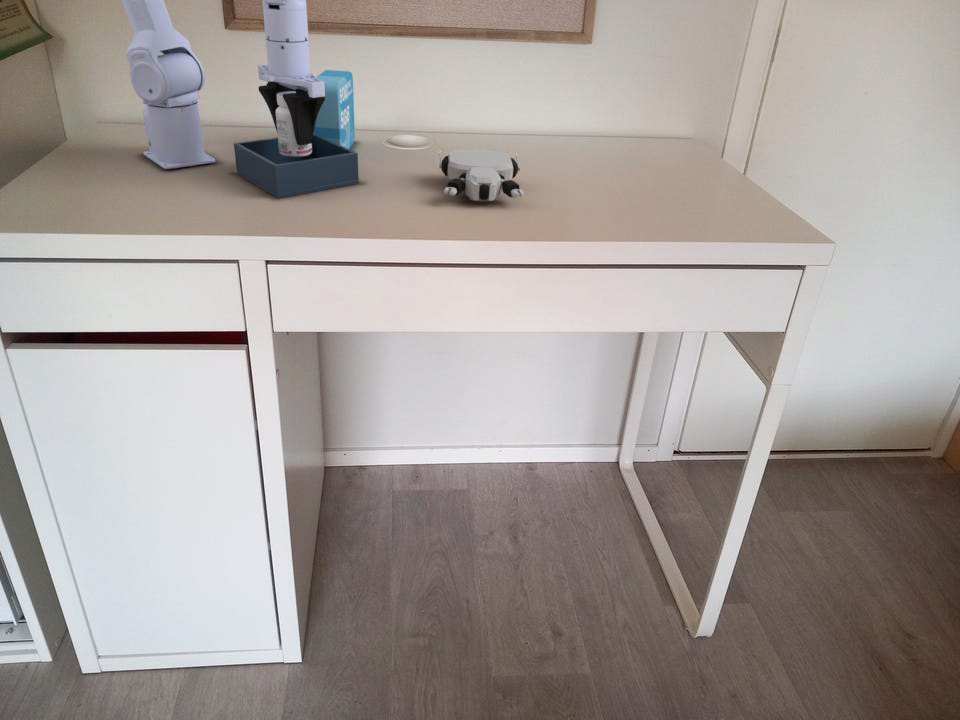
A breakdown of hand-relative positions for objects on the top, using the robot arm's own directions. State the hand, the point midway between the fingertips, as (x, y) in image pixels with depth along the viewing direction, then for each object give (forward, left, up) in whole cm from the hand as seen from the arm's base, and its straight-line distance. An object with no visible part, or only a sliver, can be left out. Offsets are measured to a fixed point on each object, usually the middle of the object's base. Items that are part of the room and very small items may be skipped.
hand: (294, 139), depth 107 cm
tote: (0, 0, -6) cm, 6 cm away
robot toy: (+19, +20, -6) cm, 28 cm away
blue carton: (-11, +13, -6) cm, 18 cm away
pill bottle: (0, 0, -2) cm, 2 cm away
